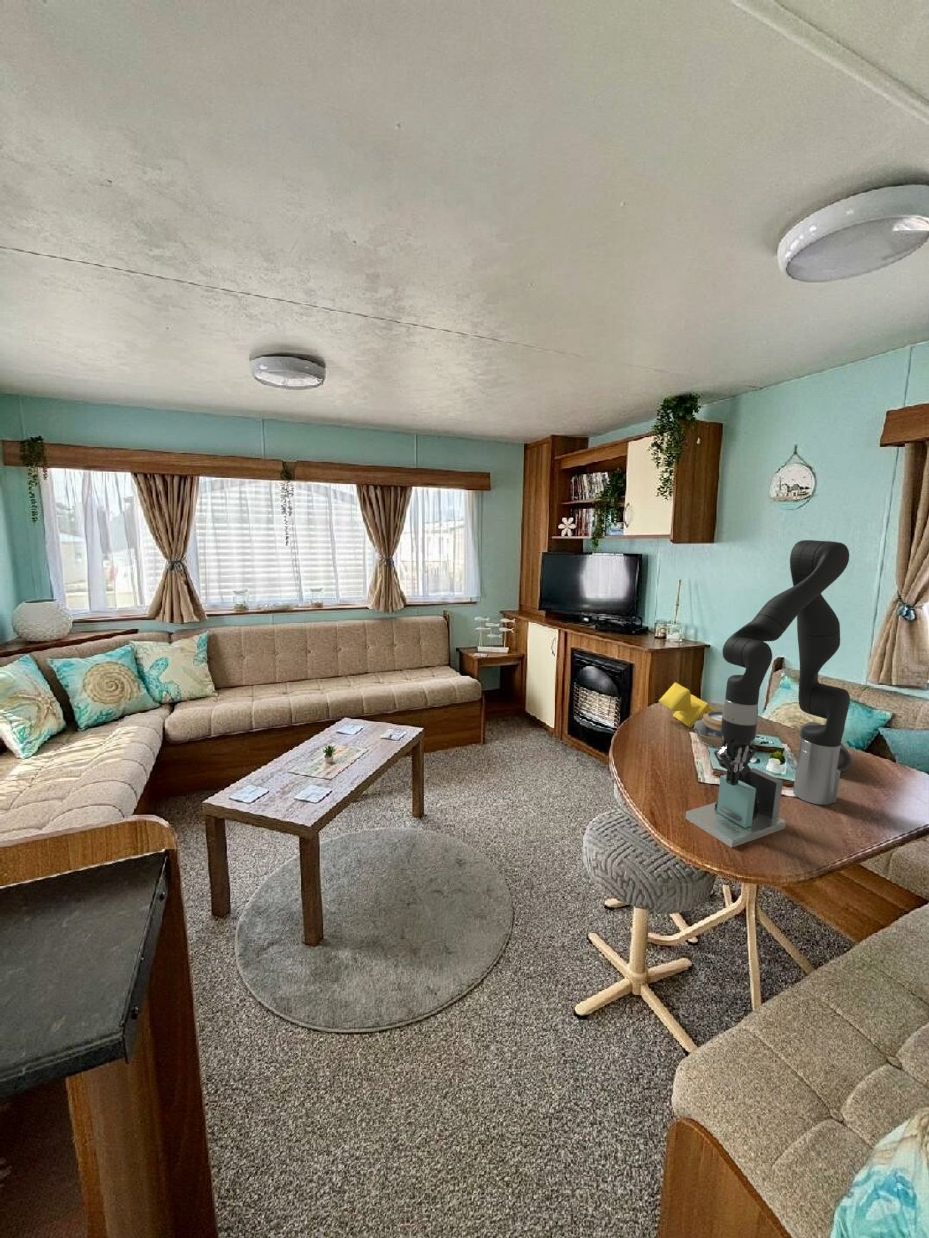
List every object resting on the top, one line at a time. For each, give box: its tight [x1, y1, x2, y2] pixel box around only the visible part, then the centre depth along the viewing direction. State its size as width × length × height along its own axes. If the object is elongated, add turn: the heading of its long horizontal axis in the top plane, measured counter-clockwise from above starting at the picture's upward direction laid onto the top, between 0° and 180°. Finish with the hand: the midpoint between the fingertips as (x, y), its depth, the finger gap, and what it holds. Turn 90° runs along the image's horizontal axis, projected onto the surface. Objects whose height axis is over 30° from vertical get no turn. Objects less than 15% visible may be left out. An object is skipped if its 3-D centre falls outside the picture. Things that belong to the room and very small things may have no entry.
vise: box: [685, 767, 787, 849], centre depth 127 cm, size 14×20×12 cm
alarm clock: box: [692, 710, 724, 748], centre depth 178 cm, size 17×9×23 cm
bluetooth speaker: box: [799, 721, 852, 772], centre depth 164 cm, size 23×9×10 cm, turn 160°
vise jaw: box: [717, 774, 756, 828], centre depth 125 cm, size 8×4×10 cm, turn 25°
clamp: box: [658, 681, 716, 729], centre depth 198 cm, size 14×25×12 cm
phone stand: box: [715, 764, 759, 819], centre depth 130 cm, size 9×6×12 cm, turn 44°
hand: (732, 783), depth 124 cm, fingers closed
